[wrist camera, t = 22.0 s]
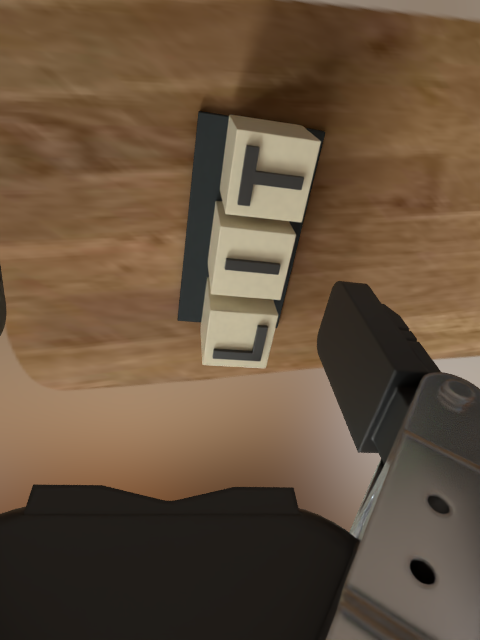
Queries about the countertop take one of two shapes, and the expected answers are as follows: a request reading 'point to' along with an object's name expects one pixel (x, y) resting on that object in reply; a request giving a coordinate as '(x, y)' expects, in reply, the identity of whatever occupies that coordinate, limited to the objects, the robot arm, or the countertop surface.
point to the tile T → (267, 168)
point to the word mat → (202, 214)
